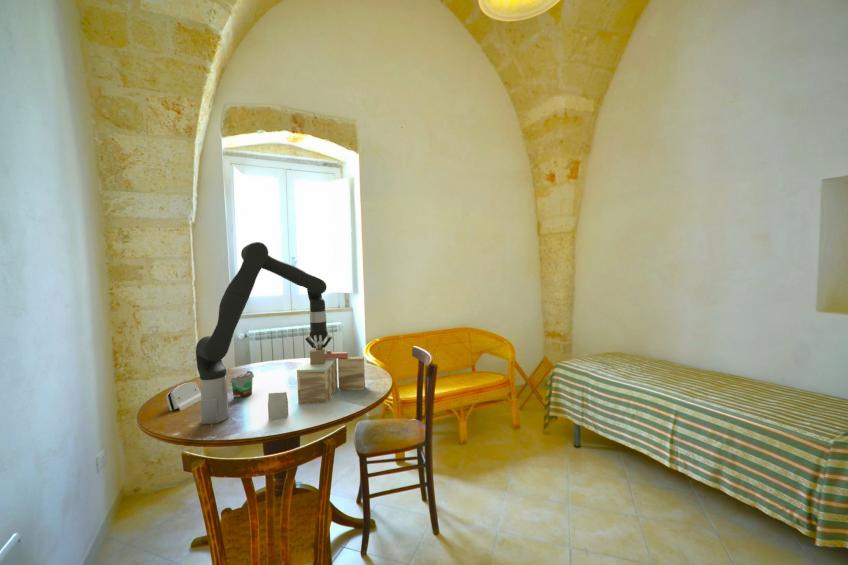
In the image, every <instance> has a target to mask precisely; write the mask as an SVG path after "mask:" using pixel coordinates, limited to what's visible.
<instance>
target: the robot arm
mask: <svg viewBox="0 0 848 565" xmlns="http://www.w3.org/2000/svg"><path fill="white" fill-rule="evenodd" d="M240 255H241V258H242V260H243V261H242V262H241V266H240V268H239V270H238V271H237V273H236V274H235V276H234V277H233V278H232V280H230V282H229V283H228V285H227V287H226V289H225V290H224V292H223V295H222V296H221V297H222V298H221V300H220V303H219V307H218V308H219V309H218V317H217V318H218V320H217V324H216V325H215V328H214V330H213V332H212V334H211V335H207V336H204V337H201V338H200V340H199V341H198V342H197V343H196V346H195V357H196V360H195V361H196V368H197V369H196V370H197V371H198V374H199V381H200V382H199V383H200V386H199V387H200V391H201V400H200V401H199V402H200V415H201V416H200V417H201V419H200V420H201V424H202V425H209V424H211V425H212V424H219V423H220V422H223V421H225V420H227V419H228V418H229V417H230V416H229V415H230V414H229V401H228V394H229V393H228V380H227V378H228V376H227V369H226V366H225V365H224V363H223V361H222V359H223V358H224V357H226V355H227V354H228V352H229V350H230V346H231V343H232V340H233V336H234V333H235V330H236V328H237V326H238V323H239V322H240V318H241V316H242V314H243V312H244V309H245V307H246V305H247V303H248V301H249V299H250V296H251V293H252V291H253V289H254V286H255V283H256V280H257V277H258V276H259V273H260V272H261V270H262V269H263V270H265V271H268V272H271V273H273V274H275V275H277V276H279V277H281V278H283V279H285V280H287V281H289V282H291V283H293V284H295V285H296V286H299V287H302V288H305V289H306V291H307V296H308V300H309V311H310V312H309V325H310V327H309V329H310V332H309V335H308V336H307V337H305V341H306V342H307V343H308V345H310V347H311V348H312V349H314V350H324V348H326V347H327V346H328V344H329V343H330V342H331V340H332V339H333V336H331V335H329V332H328V329H327V328H328V327H327V312H326V303H325V302H326V301H325V300H324V298H323V295H322V294H323V293H325V292H326V291H327V283H326V282H325V281H324V280H323V279H321V278H319V277H317V276H315V275H312V274H310V273H307V272H306V271H304V270H303V269H301V268H299V267H297V266H295V265H292V264H289V263H286V262H284V261H281V260H278V259H276V258H274V257H273V256H271V255H270V254H269V249H268V247H267V245H266V244H264V243H263V242H262V241H261V242H260V241H255V242H251V243H249V244H247V245H246V246H244V247H243V248H242V249H241V252H240ZM325 339H326V341H325ZM324 341H325V343H324Z"/></svg>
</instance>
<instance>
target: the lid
mask: <svg viewBox="0 0 848 565" xmlns="http://www.w3.org/2000/svg"><path fill="white" fill-rule="evenodd" d="M325 350H326V349H323V350H316V349H311V350H310V351H309V359H307V360H306V361H305V362H304V363H303V364H302V365H301V366H299V367H298V368H297V369H296V373H297V372H323V371H328V369H329V368H330V367H331V366H332V365H333V363H334V362H335V361H336V360H337V361H338V358H332V359H325V353H326V351H325Z"/></svg>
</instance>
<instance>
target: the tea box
mask: <svg viewBox="0 0 848 565" xmlns="http://www.w3.org/2000/svg"><path fill="white" fill-rule="evenodd" d="M287 394H288V392H287V391H285V392H283V391H282V392H281V391H280V392H269V393H268V397H267V398H268V399H267V412H268V413H267V414H268V420H269V421H271V420H272V421H273V420H286V419H287V418H288V416H289V401H288V395H287Z"/></svg>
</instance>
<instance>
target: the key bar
mask: <svg viewBox="0 0 848 565" xmlns="http://www.w3.org/2000/svg"><path fill="white" fill-rule="evenodd" d="M348 357H349V352H348V351H340V352H339V351H338V352H337V351H333V352H332V349H328V350H326V351H325V359H332V358H337V359H339V358H348Z"/></svg>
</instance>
